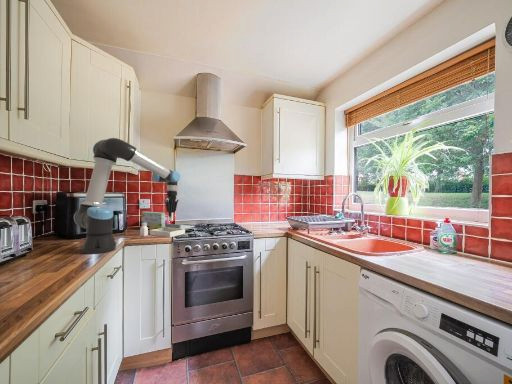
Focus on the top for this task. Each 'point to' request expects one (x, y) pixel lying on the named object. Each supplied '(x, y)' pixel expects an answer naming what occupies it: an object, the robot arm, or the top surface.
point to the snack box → (153, 219)
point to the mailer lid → (177, 226)
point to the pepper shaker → (144, 230)
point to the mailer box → (167, 232)
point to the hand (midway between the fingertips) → (170, 220)
